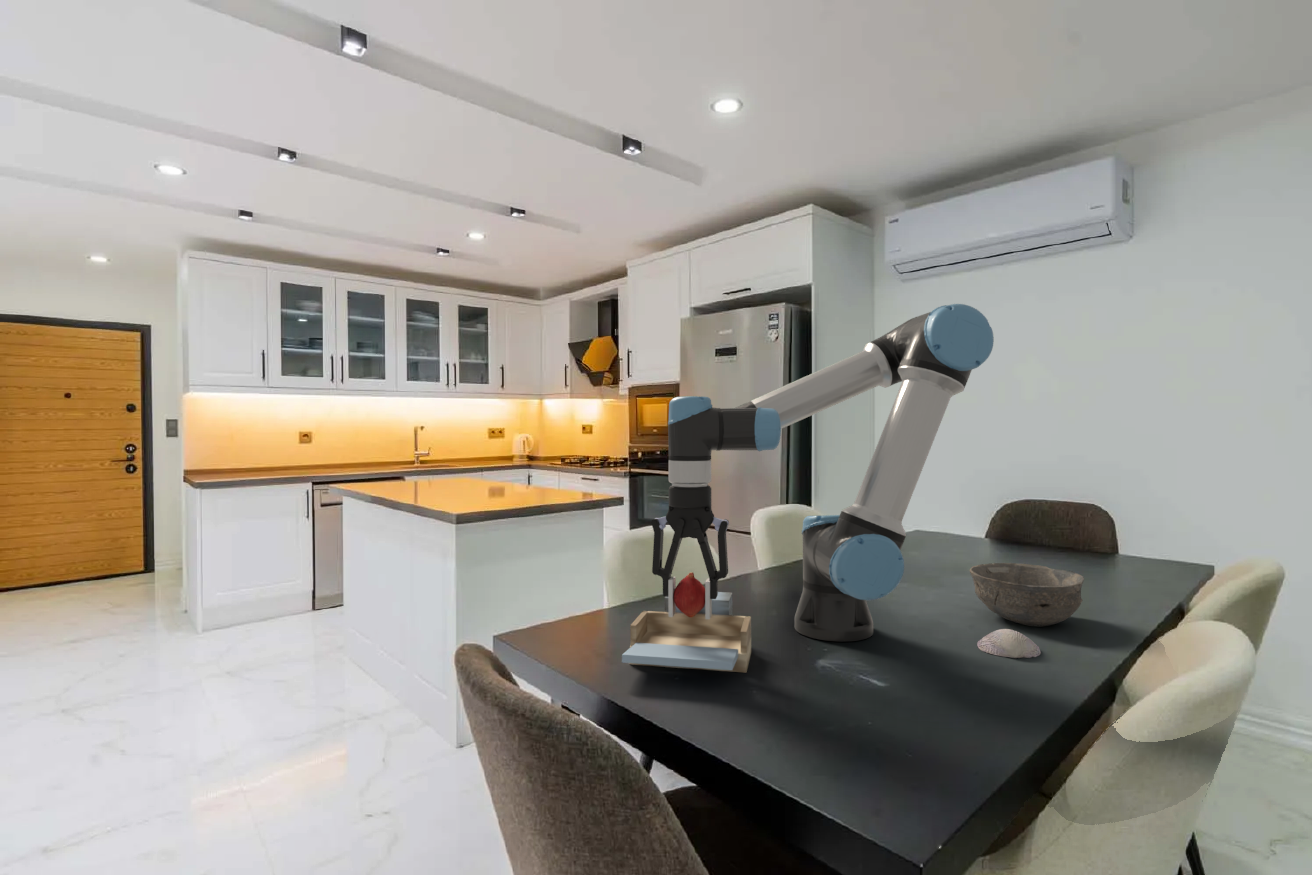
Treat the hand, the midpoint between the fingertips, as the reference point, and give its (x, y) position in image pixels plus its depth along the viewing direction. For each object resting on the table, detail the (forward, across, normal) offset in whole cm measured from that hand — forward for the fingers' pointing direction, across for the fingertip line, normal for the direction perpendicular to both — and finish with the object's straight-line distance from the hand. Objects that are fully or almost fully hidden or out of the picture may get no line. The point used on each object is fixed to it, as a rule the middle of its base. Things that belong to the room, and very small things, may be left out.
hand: (690, 615), depth 114 cm
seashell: (+8, -56, -15) cm, 58 cm away
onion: (+1, 0, 0) cm, 1 cm away
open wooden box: (+7, 0, -3) cm, 8 cm away
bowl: (+7, -64, -35) cm, 74 cm away
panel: (+4, 0, +5) cm, 7 cm away
